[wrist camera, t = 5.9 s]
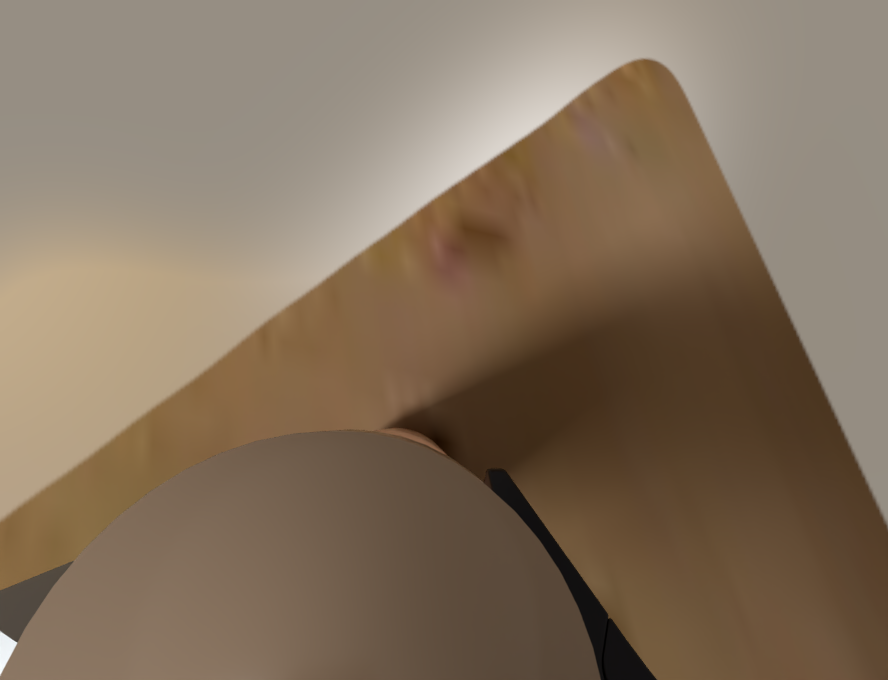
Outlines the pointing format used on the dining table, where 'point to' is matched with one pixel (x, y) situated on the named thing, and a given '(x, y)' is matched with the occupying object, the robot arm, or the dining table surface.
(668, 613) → the dining table surface
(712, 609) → the dining table surface
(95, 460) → the dining table surface
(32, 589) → the box
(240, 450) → the jar
